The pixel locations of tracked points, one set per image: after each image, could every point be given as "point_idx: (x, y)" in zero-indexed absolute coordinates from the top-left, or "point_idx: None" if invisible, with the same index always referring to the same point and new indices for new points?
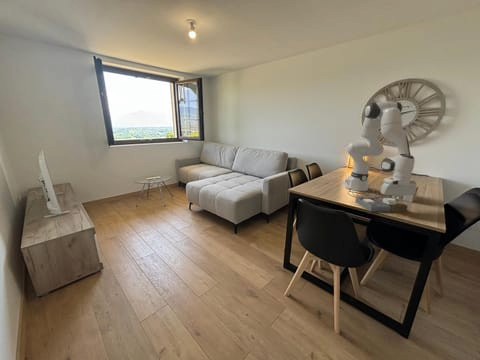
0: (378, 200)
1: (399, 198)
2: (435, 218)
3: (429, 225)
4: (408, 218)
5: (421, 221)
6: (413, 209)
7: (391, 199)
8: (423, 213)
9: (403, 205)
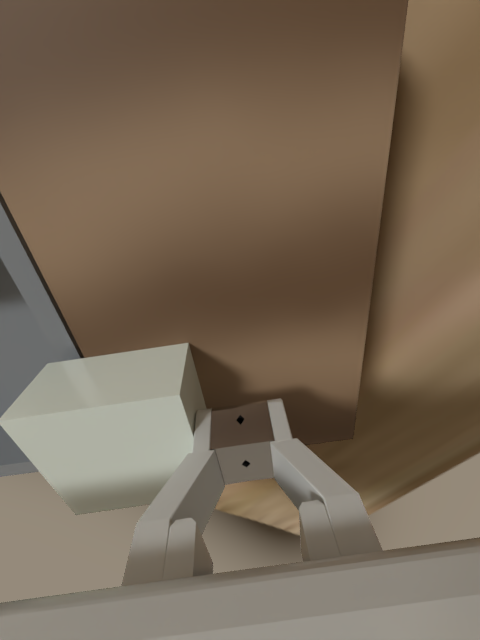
0: (1, 258)
1: (291, 494)
2: (444, 455)
3: (293, 528)
4: (233, 483)
5: (290, 502)
6: (471, 311)
7: (152, 456)
8: (458, 391)
9: (301, 440)
